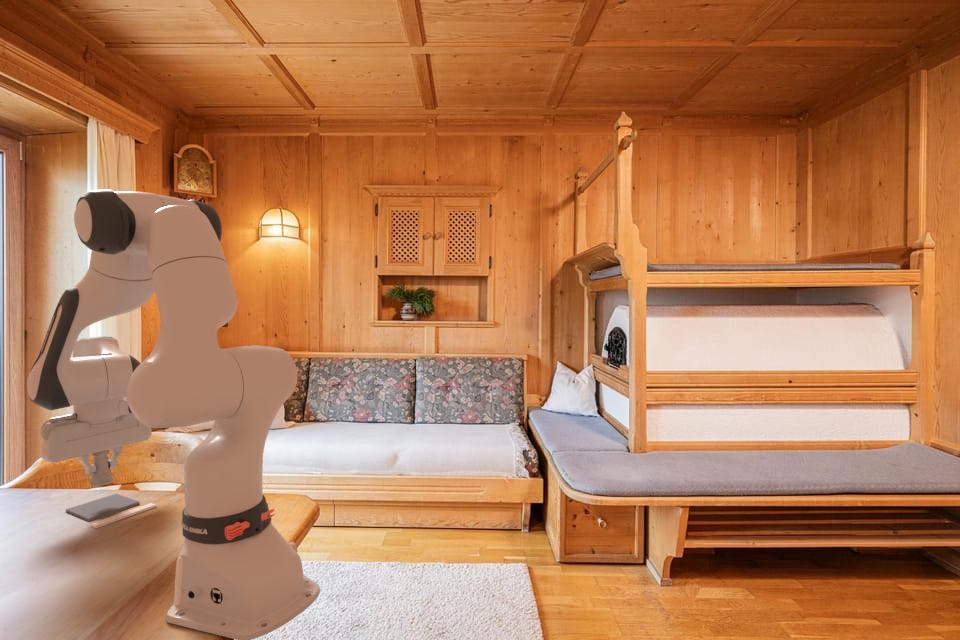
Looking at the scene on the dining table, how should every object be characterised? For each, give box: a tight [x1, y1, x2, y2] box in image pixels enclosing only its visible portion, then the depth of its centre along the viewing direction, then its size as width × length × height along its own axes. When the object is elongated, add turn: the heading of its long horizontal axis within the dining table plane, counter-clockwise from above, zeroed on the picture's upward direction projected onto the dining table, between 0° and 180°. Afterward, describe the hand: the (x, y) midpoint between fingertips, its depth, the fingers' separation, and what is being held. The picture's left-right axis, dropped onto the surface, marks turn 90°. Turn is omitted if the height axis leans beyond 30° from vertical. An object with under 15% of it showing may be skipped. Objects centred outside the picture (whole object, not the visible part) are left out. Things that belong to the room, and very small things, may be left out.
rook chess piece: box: [89, 450, 115, 487], centre depth 113 cm, size 4×4×8 cm
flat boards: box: [65, 493, 157, 529], centre depth 112 cm, size 15×12×1 cm
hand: (101, 470), depth 113 cm, fingers closed on rook chess piece, 3 cm apart
